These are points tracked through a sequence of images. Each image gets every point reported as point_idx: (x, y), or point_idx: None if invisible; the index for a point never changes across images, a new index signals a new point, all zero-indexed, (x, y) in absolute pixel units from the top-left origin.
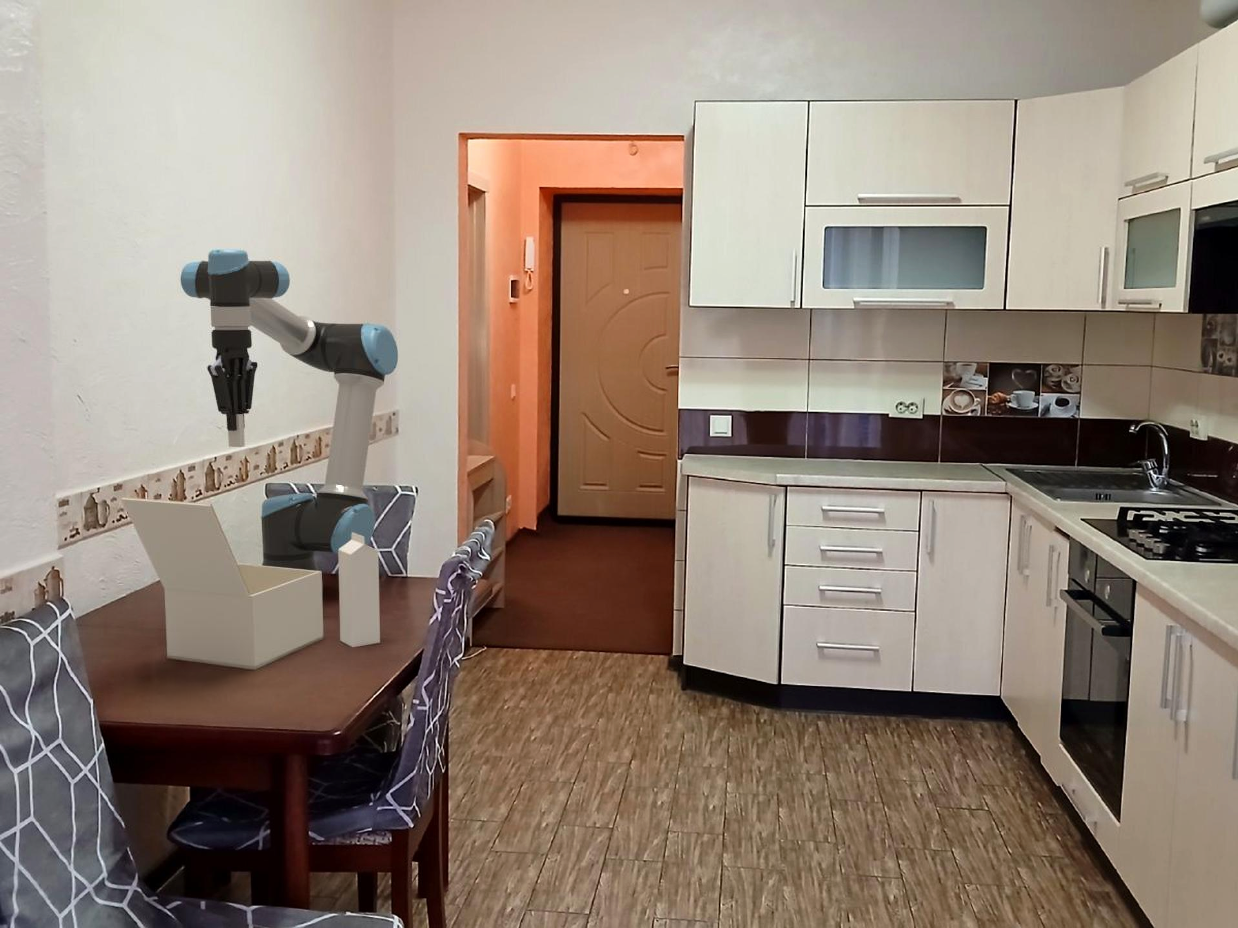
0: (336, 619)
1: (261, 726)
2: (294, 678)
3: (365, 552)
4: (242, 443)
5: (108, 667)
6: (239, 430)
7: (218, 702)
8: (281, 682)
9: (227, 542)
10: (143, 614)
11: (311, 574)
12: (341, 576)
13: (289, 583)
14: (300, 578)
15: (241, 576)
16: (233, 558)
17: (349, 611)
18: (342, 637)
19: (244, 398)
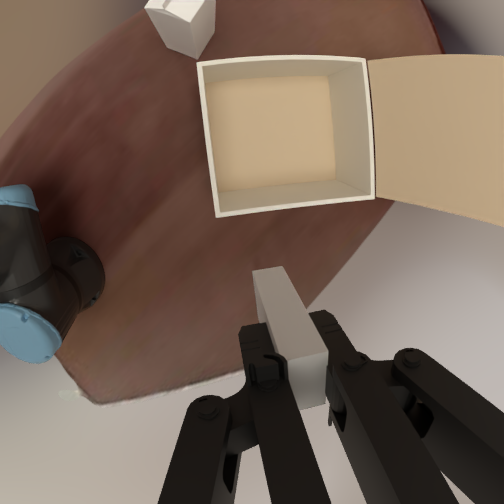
0: (124, 129)
1: (420, 3)
2: (331, 25)
3: None
4: (268, 274)
5: (378, 209)
6: (299, 301)
7: (405, 54)
8: (345, 30)
9: (451, 54)
10: (225, 328)
11: (222, 61)
12: (197, 28)
13: (284, 55)
14: (253, 58)
15: (396, 57)
16: (425, 55)
17: (211, 23)
18: (200, 53)
19: (275, 453)
